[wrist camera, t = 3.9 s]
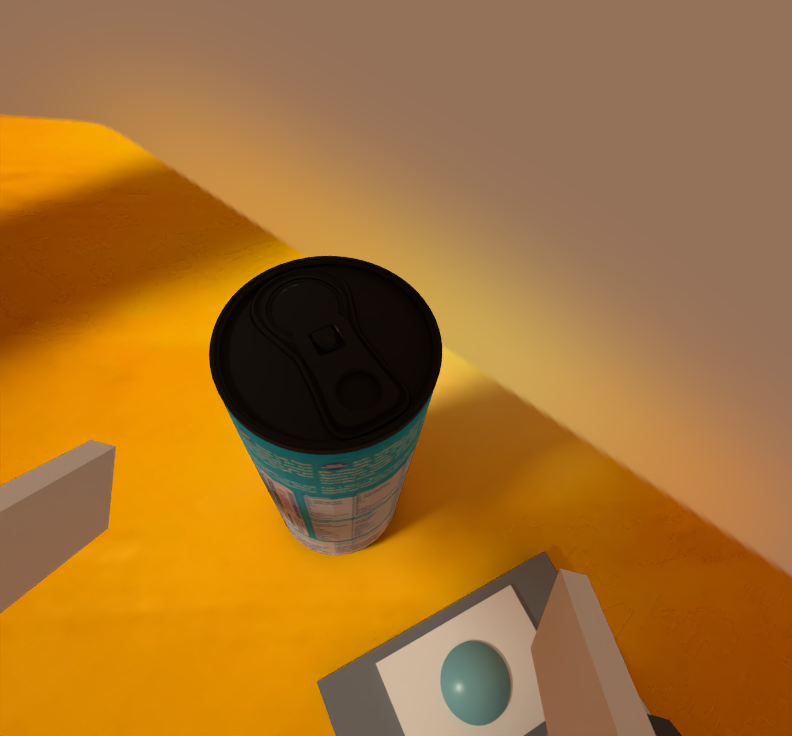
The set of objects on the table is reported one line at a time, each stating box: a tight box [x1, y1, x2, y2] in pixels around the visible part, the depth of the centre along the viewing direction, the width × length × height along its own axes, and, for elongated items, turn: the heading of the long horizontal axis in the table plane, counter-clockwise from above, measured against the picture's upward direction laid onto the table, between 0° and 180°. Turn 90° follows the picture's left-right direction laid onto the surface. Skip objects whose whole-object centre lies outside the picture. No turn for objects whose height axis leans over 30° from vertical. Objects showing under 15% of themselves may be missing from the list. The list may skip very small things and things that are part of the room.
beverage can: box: [209, 256, 442, 555], centre depth 19 cm, size 6×6×15 cm
